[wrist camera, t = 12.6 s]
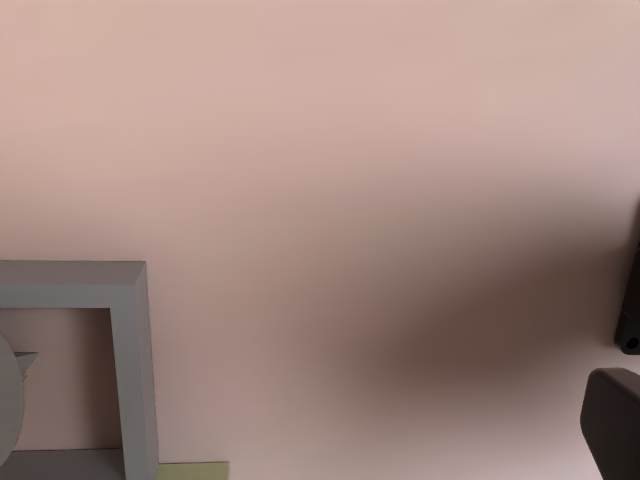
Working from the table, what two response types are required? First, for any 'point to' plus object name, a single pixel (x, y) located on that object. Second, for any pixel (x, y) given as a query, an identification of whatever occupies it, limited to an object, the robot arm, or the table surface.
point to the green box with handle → (130, 361)
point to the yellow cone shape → (11, 395)
